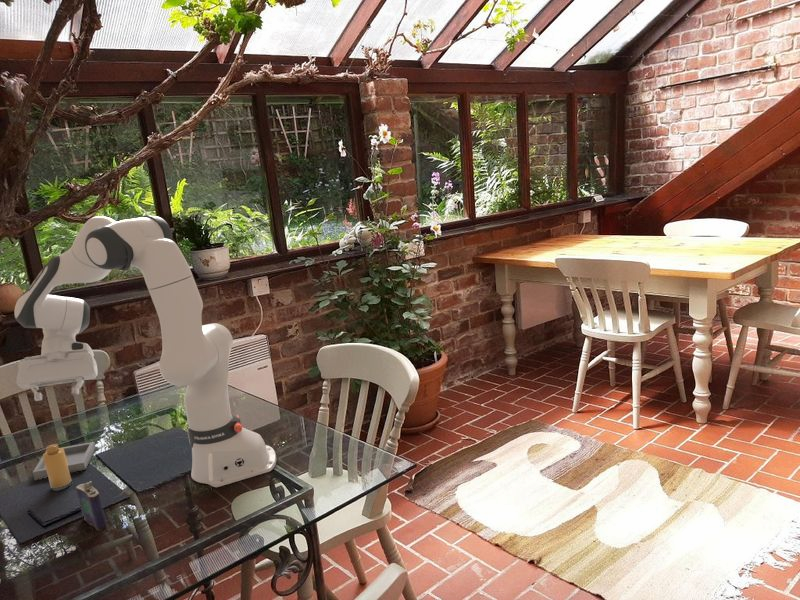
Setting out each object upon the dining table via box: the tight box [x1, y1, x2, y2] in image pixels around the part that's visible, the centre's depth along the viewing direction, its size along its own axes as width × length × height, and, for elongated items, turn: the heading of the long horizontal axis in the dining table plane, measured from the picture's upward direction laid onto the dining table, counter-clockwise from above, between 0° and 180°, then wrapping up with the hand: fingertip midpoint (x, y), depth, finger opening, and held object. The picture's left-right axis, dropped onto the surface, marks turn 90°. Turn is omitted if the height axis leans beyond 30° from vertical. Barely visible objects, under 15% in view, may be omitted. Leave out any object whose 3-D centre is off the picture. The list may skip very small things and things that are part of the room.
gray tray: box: [32, 441, 97, 481], centre depth 173 cm, size 13×13×2 cm
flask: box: [75, 480, 108, 531], centre depth 143 cm, size 9×3×11 cm, turn 50°
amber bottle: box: [42, 443, 73, 489], centre depth 160 cm, size 5×5×12 cm
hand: (56, 397), depth 168 cm, fingers open, 8 cm apart
